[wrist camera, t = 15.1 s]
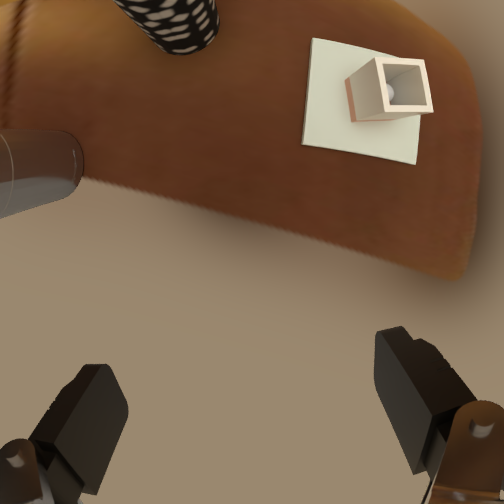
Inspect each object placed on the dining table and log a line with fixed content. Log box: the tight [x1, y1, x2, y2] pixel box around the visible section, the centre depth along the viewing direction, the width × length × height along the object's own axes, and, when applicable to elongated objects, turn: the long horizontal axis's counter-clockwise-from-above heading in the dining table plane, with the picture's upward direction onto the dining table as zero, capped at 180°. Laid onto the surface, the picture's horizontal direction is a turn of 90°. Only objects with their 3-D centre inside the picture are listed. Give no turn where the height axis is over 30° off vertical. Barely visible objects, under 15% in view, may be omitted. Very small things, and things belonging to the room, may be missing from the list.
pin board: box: [301, 38, 420, 165], centre depth 30 cm, size 14×13×8 cm
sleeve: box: [344, 57, 433, 122], centre depth 28 cm, size 5×5×10 cm
